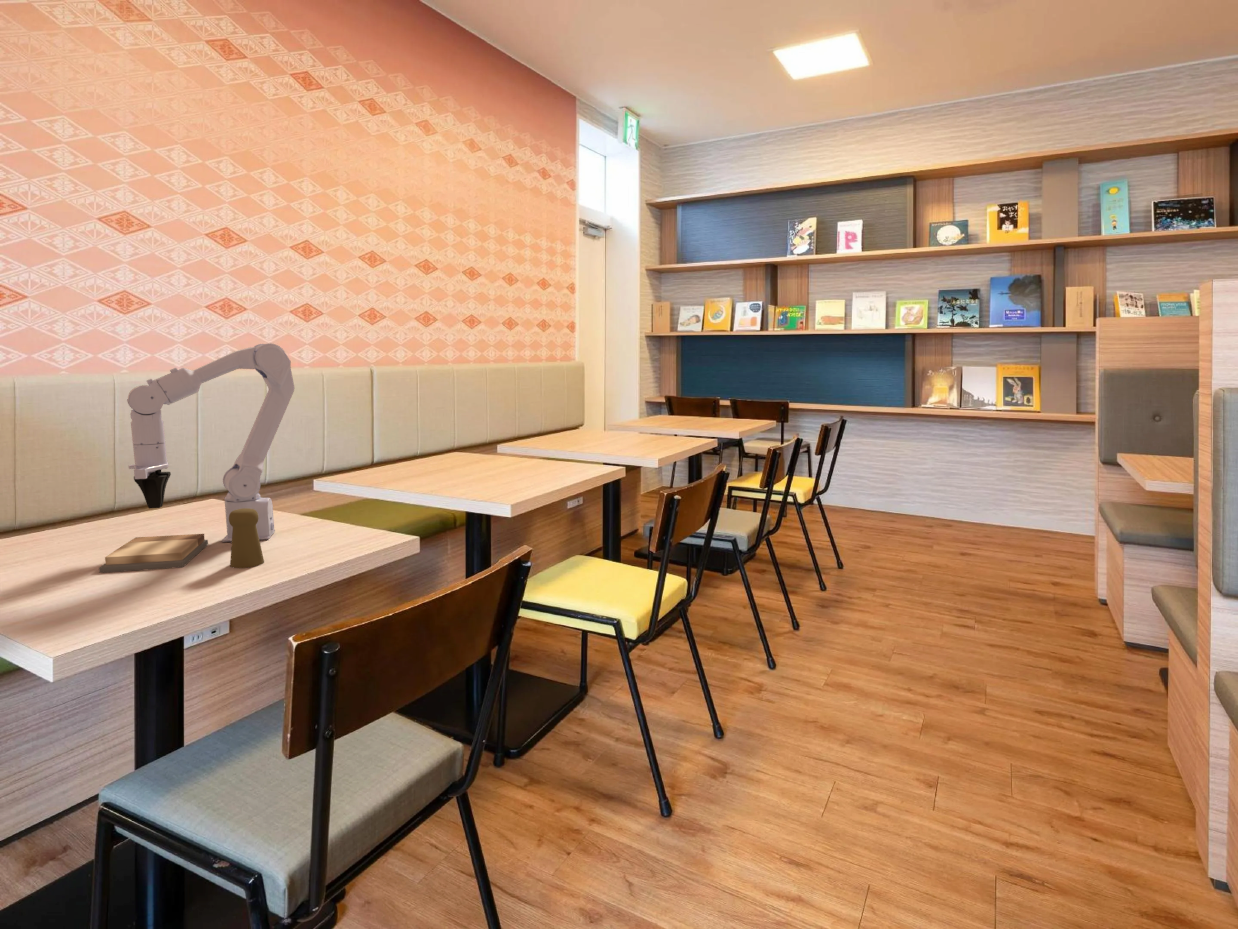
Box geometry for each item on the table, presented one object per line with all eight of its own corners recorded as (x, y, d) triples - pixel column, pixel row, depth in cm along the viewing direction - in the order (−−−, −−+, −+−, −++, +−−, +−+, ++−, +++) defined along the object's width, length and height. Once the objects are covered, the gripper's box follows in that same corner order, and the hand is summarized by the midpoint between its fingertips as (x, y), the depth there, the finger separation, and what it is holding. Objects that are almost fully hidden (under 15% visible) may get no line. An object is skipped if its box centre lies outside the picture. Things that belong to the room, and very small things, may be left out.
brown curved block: (204, 540, 157) (204, 533, 157) (198, 545, 153) (198, 538, 152) (136, 544, 153) (135, 537, 153) (128, 549, 149) (127, 542, 149)
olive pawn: (240, 559, 146) (236, 505, 144) (270, 559, 146) (266, 506, 144) (223, 568, 140) (219, 512, 138) (254, 568, 140) (250, 512, 138)
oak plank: (198, 545, 152) (197, 538, 152) (182, 560, 142) (181, 552, 142) (127, 549, 149) (126, 542, 149) (105, 564, 138) (104, 557, 138)
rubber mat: (208, 544, 158) (207, 539, 157) (182, 567, 140) (182, 562, 140) (134, 548, 154) (134, 543, 154) (99, 572, 137) (98, 567, 137)
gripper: (139, 440, 156) (145, 501, 158) (113, 448, 143) (121, 515, 145) (176, 439, 158) (181, 500, 160) (154, 447, 145) (161, 513, 147)
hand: (155, 507), depth 153 cm, fingers closed
